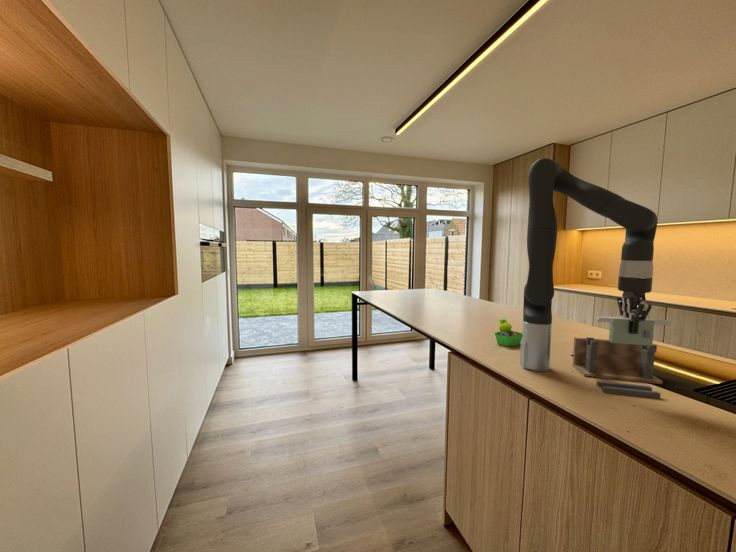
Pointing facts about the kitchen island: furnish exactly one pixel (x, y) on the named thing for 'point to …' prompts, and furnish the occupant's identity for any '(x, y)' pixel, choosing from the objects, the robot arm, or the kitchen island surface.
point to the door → (624, 337)
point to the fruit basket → (507, 334)
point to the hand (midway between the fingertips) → (630, 332)
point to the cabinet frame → (614, 360)
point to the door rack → (628, 389)
